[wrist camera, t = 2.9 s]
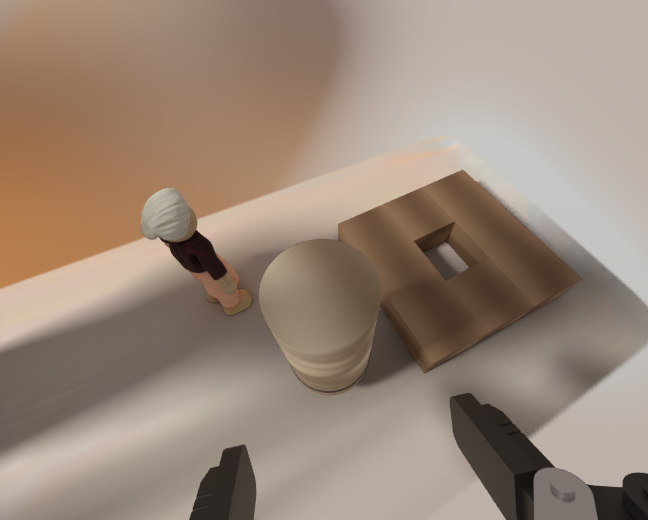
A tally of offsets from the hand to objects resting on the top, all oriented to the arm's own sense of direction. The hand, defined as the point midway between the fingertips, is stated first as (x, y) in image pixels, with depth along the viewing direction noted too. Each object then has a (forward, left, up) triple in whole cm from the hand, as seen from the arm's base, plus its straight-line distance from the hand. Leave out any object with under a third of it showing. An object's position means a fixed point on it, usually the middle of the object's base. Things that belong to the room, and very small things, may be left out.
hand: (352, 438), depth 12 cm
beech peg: (+2, +6, -12) cm, 14 cm away
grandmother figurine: (-4, +16, -12) cm, 21 cm away
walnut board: (+15, +9, -12) cm, 21 cm away
